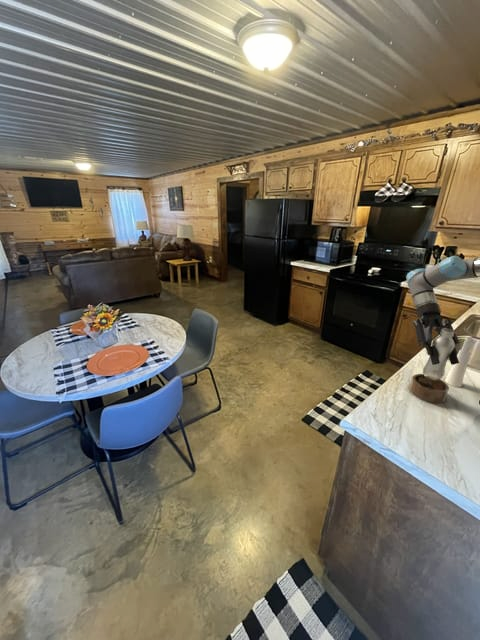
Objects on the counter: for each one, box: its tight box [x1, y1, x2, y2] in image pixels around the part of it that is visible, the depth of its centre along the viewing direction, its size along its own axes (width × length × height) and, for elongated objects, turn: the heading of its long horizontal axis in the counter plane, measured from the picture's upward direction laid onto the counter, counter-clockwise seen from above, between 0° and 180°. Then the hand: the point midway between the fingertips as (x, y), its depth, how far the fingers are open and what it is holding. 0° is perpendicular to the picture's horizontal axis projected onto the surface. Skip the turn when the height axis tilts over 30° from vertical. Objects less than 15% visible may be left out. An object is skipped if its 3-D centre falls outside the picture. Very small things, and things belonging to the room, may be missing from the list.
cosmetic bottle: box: [444, 336, 475, 388], centre depth 106 cm, size 6×6×22 cm
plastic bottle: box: [422, 328, 456, 380], centre depth 97 cm, size 6×7×20 cm
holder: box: [409, 373, 450, 404], centre depth 102 cm, size 12×12×6 cm
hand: (445, 363), depth 94 cm, fingers closed on plastic bottle, 6 cm apart
